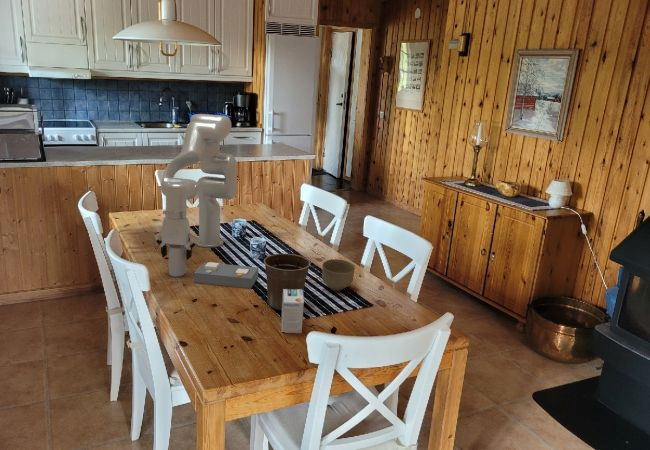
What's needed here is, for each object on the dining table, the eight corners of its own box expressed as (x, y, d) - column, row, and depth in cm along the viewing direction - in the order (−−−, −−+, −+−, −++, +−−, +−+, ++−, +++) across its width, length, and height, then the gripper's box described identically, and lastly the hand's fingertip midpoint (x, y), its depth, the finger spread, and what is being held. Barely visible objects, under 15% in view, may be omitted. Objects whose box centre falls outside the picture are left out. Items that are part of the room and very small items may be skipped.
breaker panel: (204, 271, 212) (204, 260, 211) (258, 276, 210) (258, 266, 209) (194, 282, 201) (194, 271, 199) (250, 288, 199) (251, 277, 198)
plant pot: (316, 303, 190) (319, 261, 186) (289, 318, 177) (291, 273, 173) (281, 290, 199) (283, 250, 194) (252, 304, 186) (254, 261, 181)
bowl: (325, 296, 196) (327, 271, 193) (317, 283, 208) (318, 259, 205) (357, 294, 200) (359, 270, 197) (347, 281, 211) (349, 258, 209)
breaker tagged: (238, 276, 207) (238, 268, 206) (248, 277, 207) (249, 269, 206) (234, 280, 203) (235, 272, 202) (246, 281, 202) (246, 273, 202)
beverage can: (189, 273, 209) (188, 245, 206) (178, 278, 203) (177, 249, 200) (176, 270, 211) (175, 242, 208) (165, 275, 206) (164, 246, 202)
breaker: (208, 269, 208) (208, 262, 207) (219, 270, 207) (219, 263, 206) (204, 273, 203) (204, 265, 203) (215, 274, 203) (215, 267, 202)
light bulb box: (281, 318, 177) (282, 288, 174) (301, 318, 178) (302, 288, 175) (281, 333, 167) (282, 302, 164) (302, 333, 168) (304, 302, 165)
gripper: (150, 215, 197) (150, 258, 202) (194, 219, 196) (194, 262, 200) (158, 210, 205) (158, 252, 209) (201, 214, 203) (201, 256, 208)
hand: (176, 257), depth 205 cm, fingers open, 9 cm apart
